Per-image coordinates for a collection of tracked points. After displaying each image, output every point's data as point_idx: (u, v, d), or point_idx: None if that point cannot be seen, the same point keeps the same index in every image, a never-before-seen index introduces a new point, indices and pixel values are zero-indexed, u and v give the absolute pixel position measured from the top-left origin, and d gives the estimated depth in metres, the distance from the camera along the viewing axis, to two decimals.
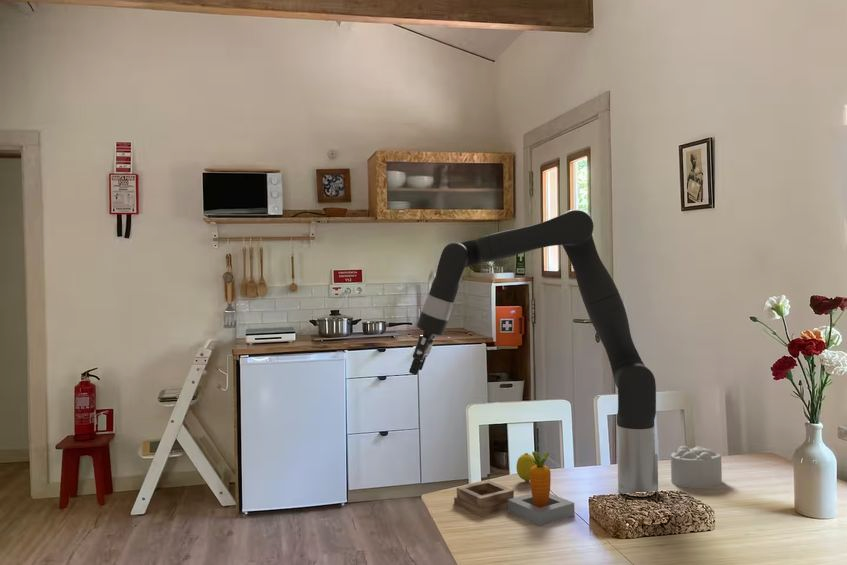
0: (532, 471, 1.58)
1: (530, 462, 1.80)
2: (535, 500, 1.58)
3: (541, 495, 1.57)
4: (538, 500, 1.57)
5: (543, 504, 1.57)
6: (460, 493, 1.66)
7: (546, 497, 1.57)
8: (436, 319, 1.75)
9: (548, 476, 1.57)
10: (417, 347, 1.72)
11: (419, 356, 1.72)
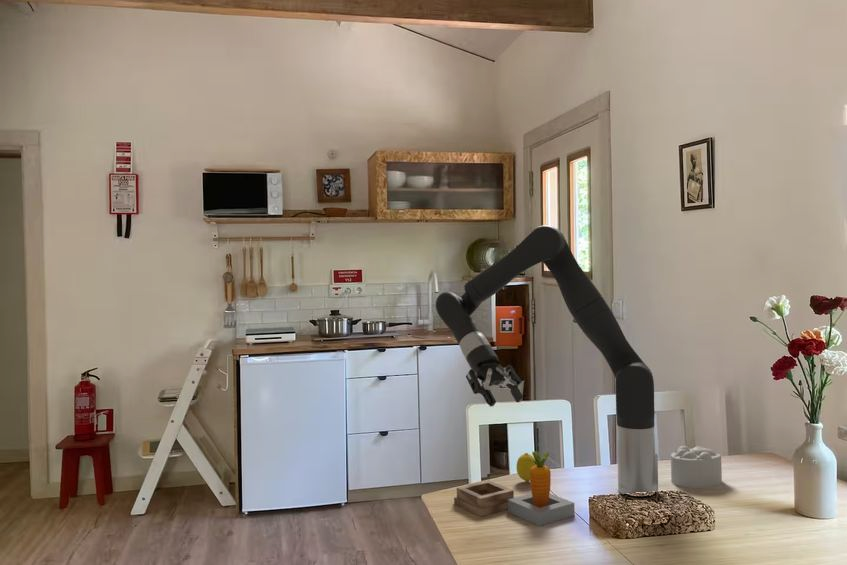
0: (532, 471, 1.58)
1: (530, 462, 1.80)
2: (535, 500, 1.58)
3: (541, 495, 1.57)
4: (538, 500, 1.57)
5: (543, 504, 1.57)
6: (460, 493, 1.66)
7: (546, 497, 1.57)
8: (470, 353, 1.75)
9: (548, 476, 1.57)
10: (470, 384, 1.70)
11: (475, 387, 1.68)
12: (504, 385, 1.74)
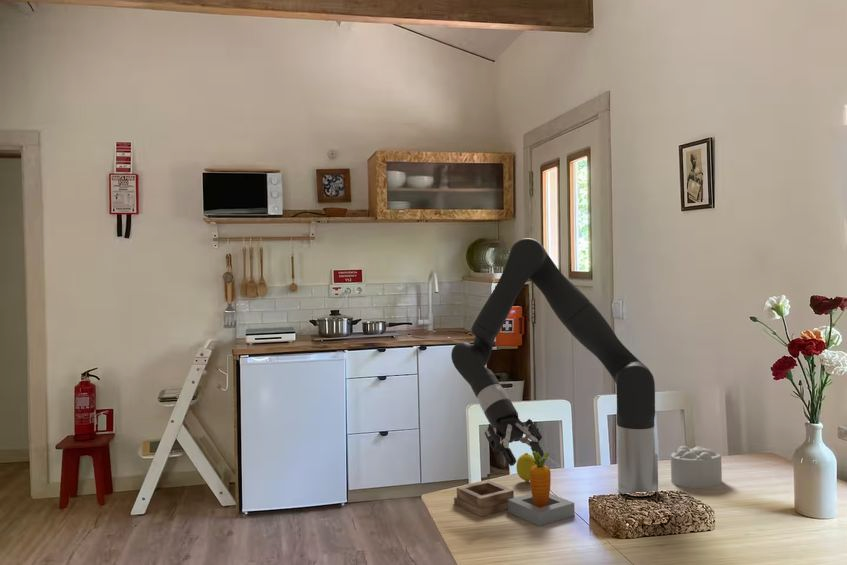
0: (532, 471, 1.58)
1: (530, 462, 1.80)
2: (535, 500, 1.58)
3: (541, 495, 1.57)
4: (538, 500, 1.57)
5: (543, 504, 1.57)
6: (460, 493, 1.66)
7: (546, 497, 1.57)
8: (488, 407, 1.69)
9: (548, 476, 1.57)
10: (489, 441, 1.64)
11: (495, 445, 1.62)
12: (524, 441, 1.68)
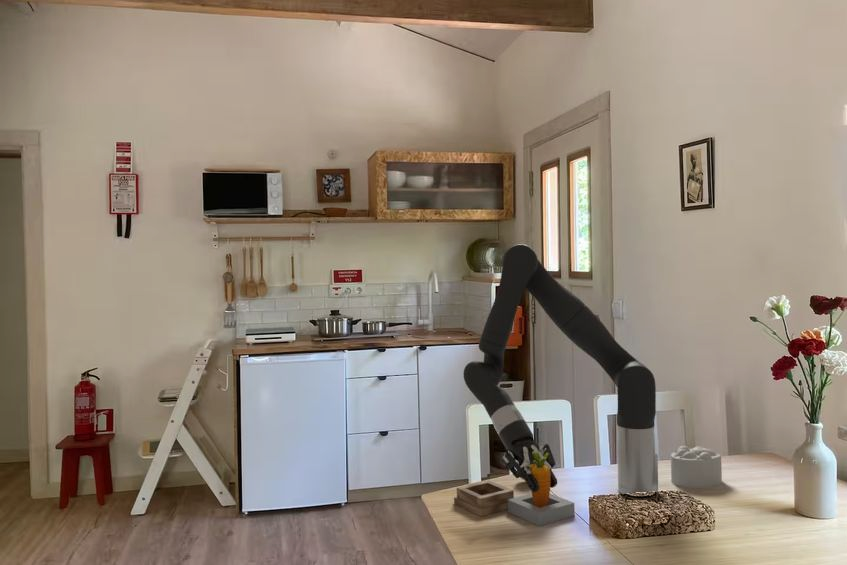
0: (532, 471, 1.58)
1: None
2: (535, 500, 1.58)
3: (541, 495, 1.57)
4: (538, 500, 1.57)
5: (543, 504, 1.57)
6: (460, 493, 1.66)
7: (546, 497, 1.57)
8: (503, 429, 1.64)
9: (548, 476, 1.57)
10: (509, 468, 1.59)
11: (517, 472, 1.57)
12: None
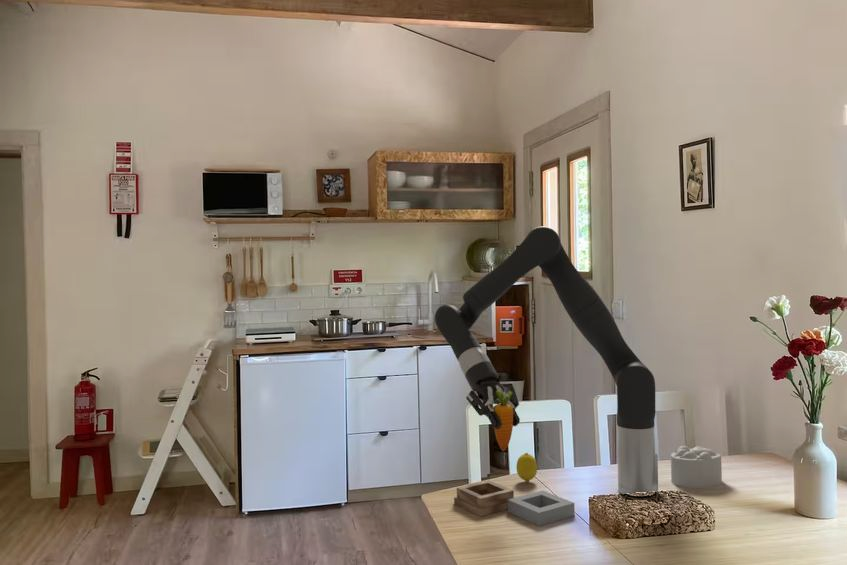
0: (495, 409, 1.61)
1: (530, 462, 1.80)
2: (498, 437, 1.62)
3: (503, 432, 1.61)
4: (500, 437, 1.61)
5: (505, 441, 1.61)
6: (460, 493, 1.66)
7: (508, 434, 1.61)
8: (469, 369, 1.68)
9: (511, 414, 1.61)
10: (473, 406, 1.63)
11: (481, 409, 1.61)
12: None
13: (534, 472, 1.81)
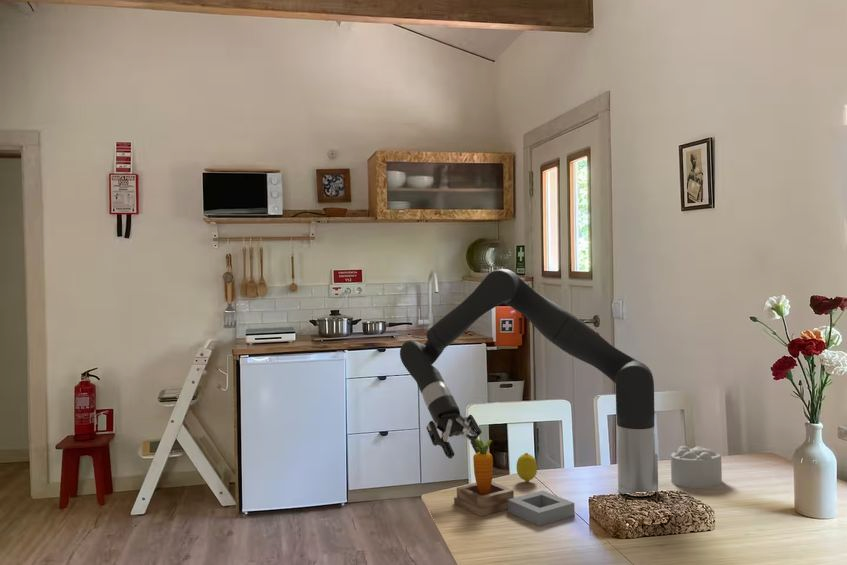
0: (475, 457, 1.65)
1: (530, 462, 1.80)
2: (478, 485, 1.65)
3: (483, 480, 1.64)
4: (481, 485, 1.64)
5: (485, 489, 1.64)
6: (460, 493, 1.66)
7: (488, 482, 1.64)
8: (431, 403, 1.78)
9: (490, 462, 1.64)
10: (430, 435, 1.73)
11: (435, 439, 1.71)
12: (464, 435, 1.77)
13: (534, 472, 1.81)
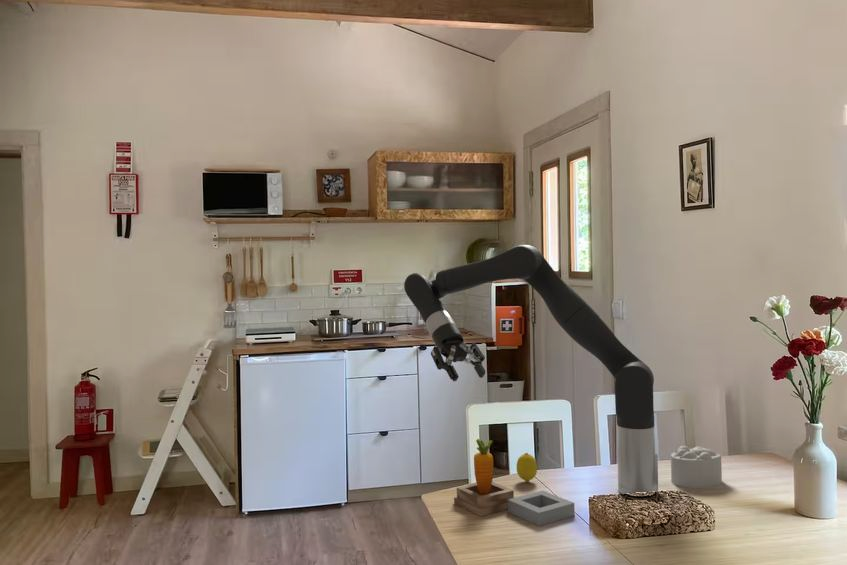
0: (475, 458, 1.65)
1: (530, 462, 1.80)
2: (478, 486, 1.65)
3: (483, 481, 1.64)
4: (481, 486, 1.64)
5: (485, 490, 1.64)
6: (460, 493, 1.66)
7: (489, 483, 1.64)
8: (435, 331, 1.81)
9: (491, 463, 1.64)
10: (434, 360, 1.76)
11: (439, 363, 1.74)
12: (468, 361, 1.80)
13: (534, 472, 1.81)
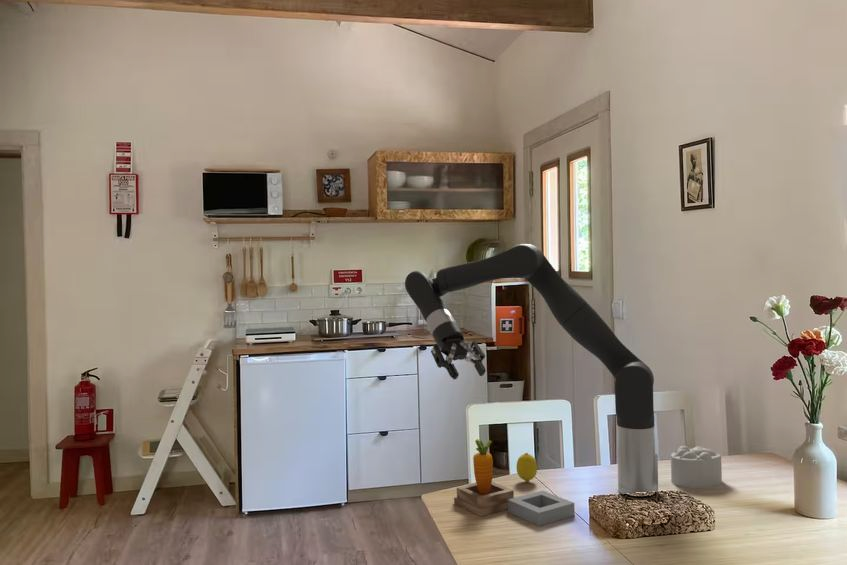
0: (475, 458, 1.64)
1: (530, 462, 1.80)
2: (478, 486, 1.65)
3: (483, 481, 1.64)
4: (481, 486, 1.64)
5: (485, 490, 1.64)
6: (460, 493, 1.66)
7: (488, 483, 1.64)
8: (435, 329, 1.81)
9: (490, 463, 1.64)
10: (434, 358, 1.76)
11: (439, 361, 1.74)
12: (468, 360, 1.80)
13: (534, 472, 1.81)
